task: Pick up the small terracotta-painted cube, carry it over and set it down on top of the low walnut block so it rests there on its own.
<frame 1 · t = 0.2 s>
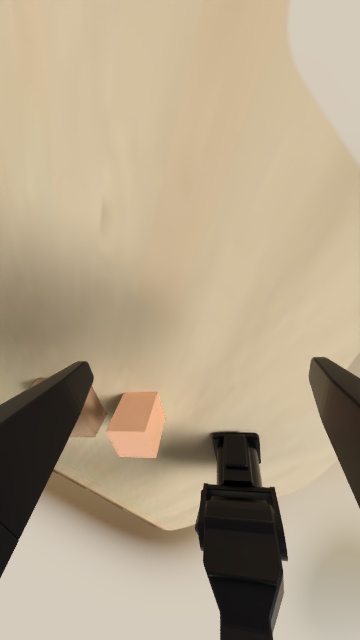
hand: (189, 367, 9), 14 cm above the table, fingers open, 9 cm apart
walnut block: (74, 395, 34), on the table
terracotta cube: (145, 404, 33), on the table
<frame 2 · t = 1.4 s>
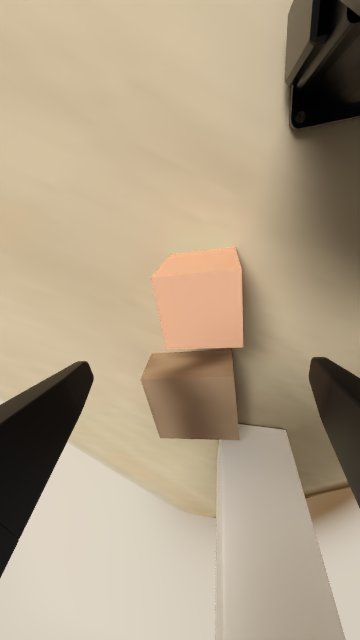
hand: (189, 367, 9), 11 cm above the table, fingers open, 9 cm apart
milk carton: (248, 442, 28), on the table
walnut block: (196, 380, 24), on the table
terracotta cube: (205, 281, 19), on the table
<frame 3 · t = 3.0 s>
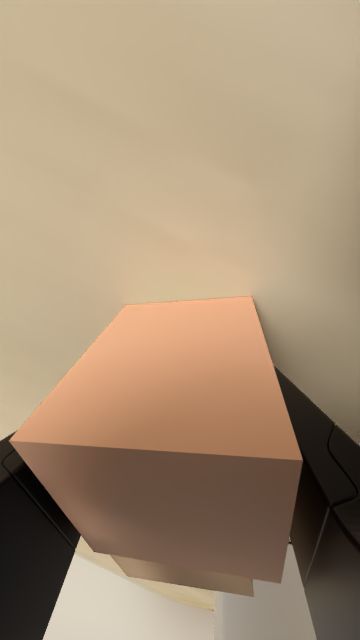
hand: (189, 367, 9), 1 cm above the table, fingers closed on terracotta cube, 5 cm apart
milk carton: (260, 551, 19), on the table
walnut block: (182, 479, 16), on the table
terracotta cube: (192, 352, 10), on the table, touching gripper
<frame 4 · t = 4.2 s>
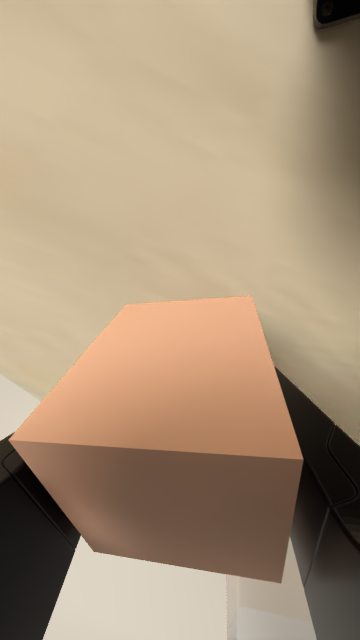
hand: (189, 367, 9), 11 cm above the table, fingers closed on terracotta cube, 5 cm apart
milk carton: (258, 415, 26), on the table
terracotta cube: (192, 352, 10), point 10 cm above the table, touching gripper
when the fingers open (7 cm above the table, at t = 5.7 s): terracotta cube drops 2 cm, resting on walnut block.
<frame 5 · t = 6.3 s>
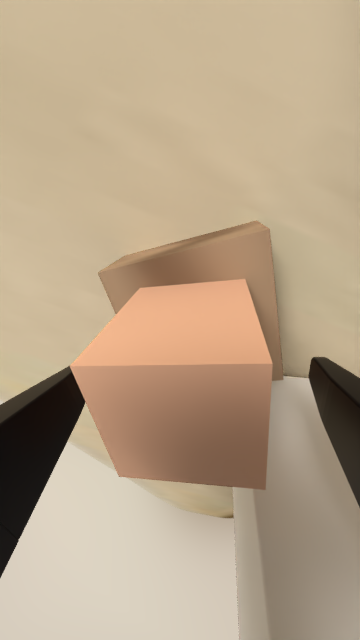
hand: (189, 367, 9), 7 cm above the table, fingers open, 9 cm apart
milk carton: (278, 405, 19), on the table
walnut block: (201, 299, 15), on the table, touching terracotta cube
terracotta cube: (195, 329, 12), point 4 cm above the table, touching walnut block
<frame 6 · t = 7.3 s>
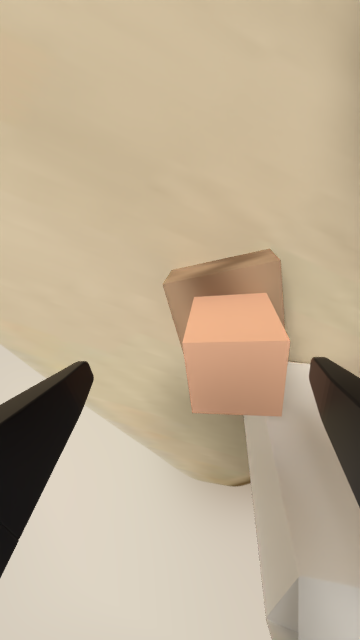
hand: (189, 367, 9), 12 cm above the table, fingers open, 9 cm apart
milk carton: (281, 386, 24), on the table
walnut block: (226, 302, 21), on the table, touching terracotta cube
terracotta cube: (230, 325, 17), point 4 cm above the table, touching walnut block
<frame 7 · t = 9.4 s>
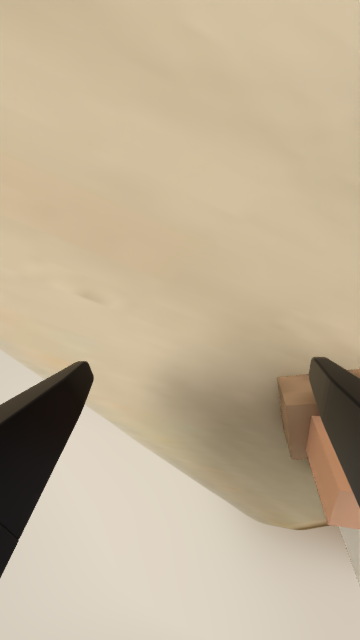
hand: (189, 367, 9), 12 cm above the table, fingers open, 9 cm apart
milk carton: (357, 459, 28), on the table
walnut block: (319, 399, 24), on the table, touching terracotta cube
terracotta cube: (338, 435, 21), point 4 cm above the table, touching walnut block
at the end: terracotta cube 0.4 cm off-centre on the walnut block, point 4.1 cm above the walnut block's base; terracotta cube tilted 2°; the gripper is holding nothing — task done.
